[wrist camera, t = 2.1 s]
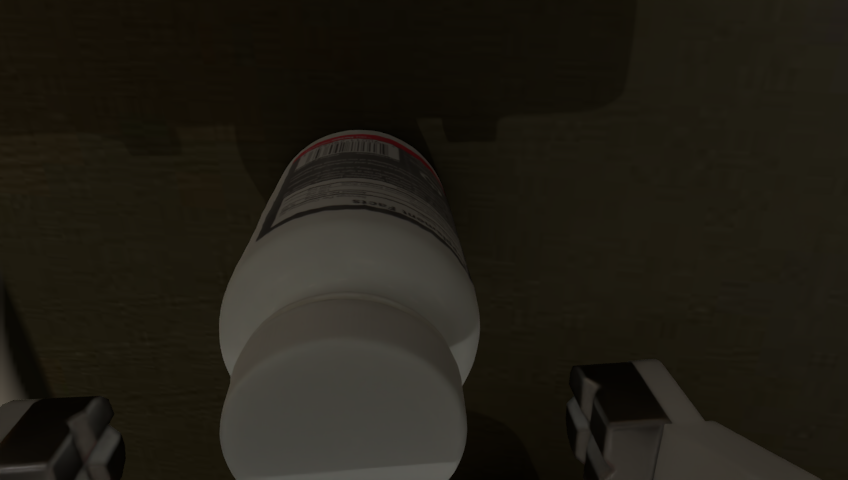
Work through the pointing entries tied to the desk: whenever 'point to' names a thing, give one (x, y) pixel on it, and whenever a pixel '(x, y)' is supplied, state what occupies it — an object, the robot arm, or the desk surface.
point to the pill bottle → (349, 322)
